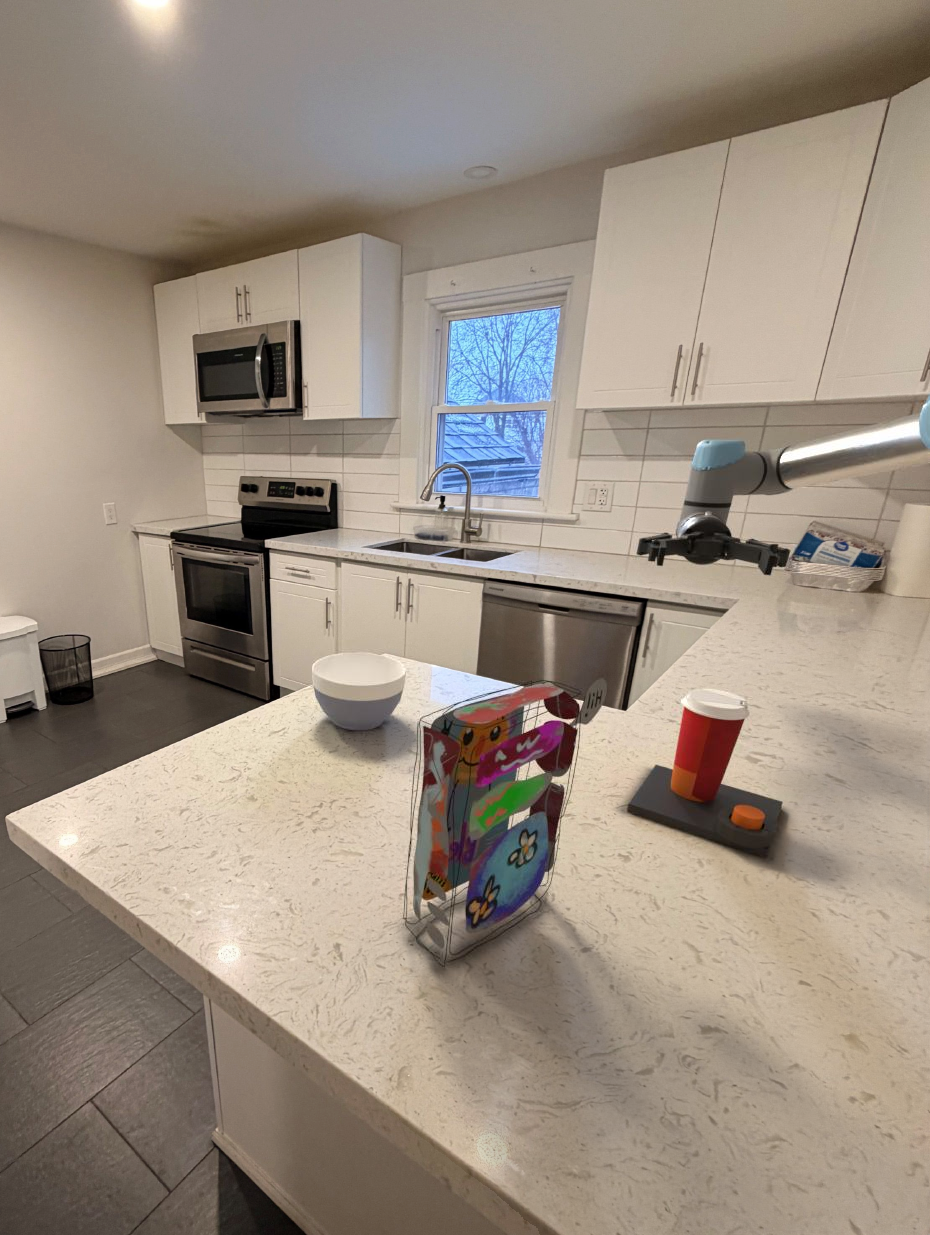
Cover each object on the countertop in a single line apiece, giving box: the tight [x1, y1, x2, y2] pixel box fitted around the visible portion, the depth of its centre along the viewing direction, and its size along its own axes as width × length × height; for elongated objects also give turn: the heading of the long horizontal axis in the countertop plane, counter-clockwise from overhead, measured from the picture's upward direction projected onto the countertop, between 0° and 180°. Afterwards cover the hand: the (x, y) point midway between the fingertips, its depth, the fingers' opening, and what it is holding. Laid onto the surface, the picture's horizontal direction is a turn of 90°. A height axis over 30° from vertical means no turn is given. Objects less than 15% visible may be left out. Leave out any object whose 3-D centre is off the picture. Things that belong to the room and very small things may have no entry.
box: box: [402, 677, 608, 968], centre depth 65 cm, size 25×6×24 cm, turn 126°
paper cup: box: [671, 688, 750, 802], centre depth 86 cm, size 8×8×14 cm
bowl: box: [311, 652, 407, 731], centre depth 110 cm, size 16×16×10 cm
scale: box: [626, 764, 783, 859], centre depth 85 cm, size 16×15×3 cm
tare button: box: [731, 805, 765, 830], centre depth 79 cm, size 3×3×2 cm
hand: (714, 561), depth 91 cm, fingers open, 13 cm apart
